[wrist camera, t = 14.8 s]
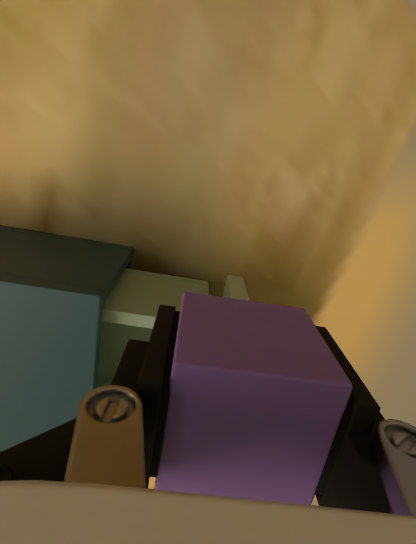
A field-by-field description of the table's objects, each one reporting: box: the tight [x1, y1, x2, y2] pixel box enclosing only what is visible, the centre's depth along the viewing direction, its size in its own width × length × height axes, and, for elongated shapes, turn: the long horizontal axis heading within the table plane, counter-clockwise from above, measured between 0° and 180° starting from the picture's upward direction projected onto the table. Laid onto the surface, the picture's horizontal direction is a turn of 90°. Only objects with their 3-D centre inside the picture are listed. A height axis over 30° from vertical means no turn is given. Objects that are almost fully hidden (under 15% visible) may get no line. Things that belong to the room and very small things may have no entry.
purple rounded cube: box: [154, 292, 352, 505], centre depth 10 cm, size 4×4×4 cm
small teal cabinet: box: [0, 225, 134, 452], centre depth 24 cm, size 15×13×9 cm
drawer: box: [97, 268, 250, 388], centre depth 24 cm, size 18×11×7 cm, turn 80°
